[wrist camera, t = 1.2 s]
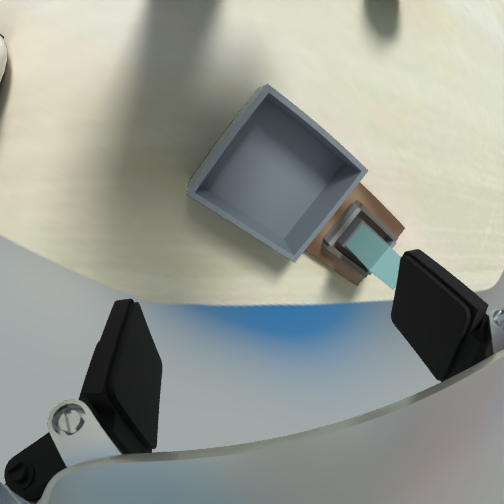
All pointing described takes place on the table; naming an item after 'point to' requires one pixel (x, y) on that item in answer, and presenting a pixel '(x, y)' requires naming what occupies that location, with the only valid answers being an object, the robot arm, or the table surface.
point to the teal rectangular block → (371, 251)
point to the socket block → (353, 206)
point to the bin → (276, 174)
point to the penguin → (2, 56)
